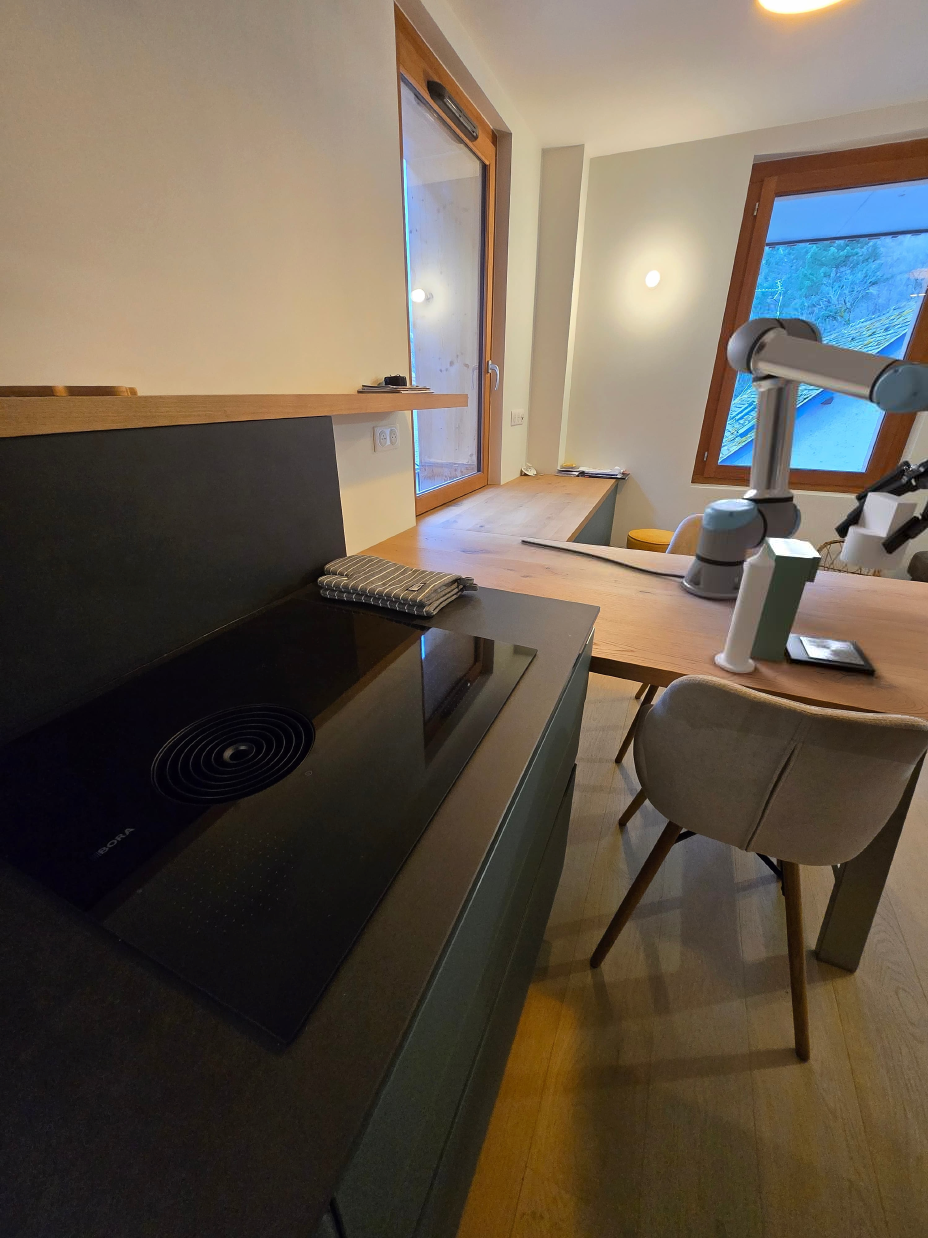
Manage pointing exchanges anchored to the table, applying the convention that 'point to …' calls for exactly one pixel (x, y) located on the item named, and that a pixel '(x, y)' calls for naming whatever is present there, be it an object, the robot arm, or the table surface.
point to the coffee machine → (780, 609)
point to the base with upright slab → (877, 532)
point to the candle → (747, 614)
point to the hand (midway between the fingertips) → (861, 540)
